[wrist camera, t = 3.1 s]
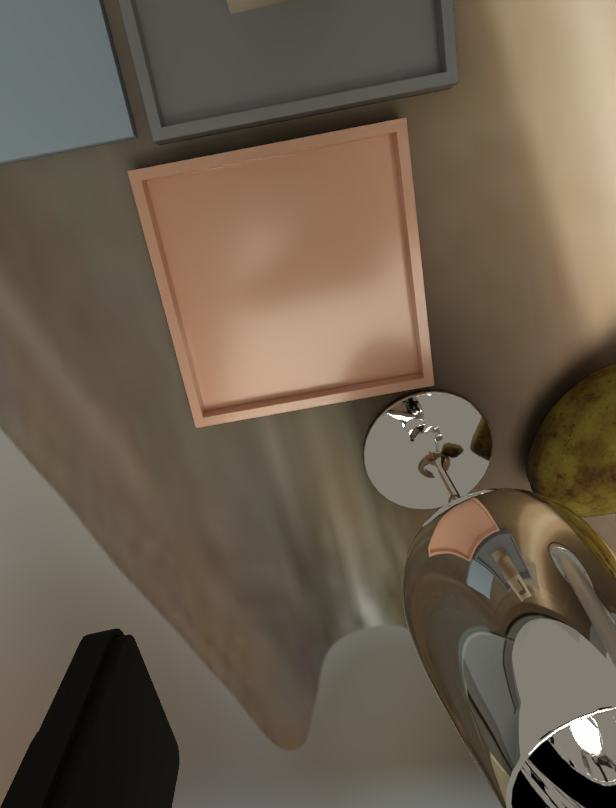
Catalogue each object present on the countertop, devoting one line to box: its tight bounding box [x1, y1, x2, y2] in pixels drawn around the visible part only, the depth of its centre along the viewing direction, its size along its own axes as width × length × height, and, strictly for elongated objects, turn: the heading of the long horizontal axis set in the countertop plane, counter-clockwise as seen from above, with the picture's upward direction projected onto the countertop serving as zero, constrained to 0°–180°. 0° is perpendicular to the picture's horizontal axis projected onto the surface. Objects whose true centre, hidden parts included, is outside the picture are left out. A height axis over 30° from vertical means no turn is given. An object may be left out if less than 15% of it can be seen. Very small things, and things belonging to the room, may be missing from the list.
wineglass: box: [363, 391, 616, 808], centre depth 23 cm, size 8×8×20 cm
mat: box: [0, 0, 137, 164], centre depth 25 cm, size 9×9×1 cm
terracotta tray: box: [127, 118, 434, 428], centre depth 28 cm, size 13×13×2 cm
